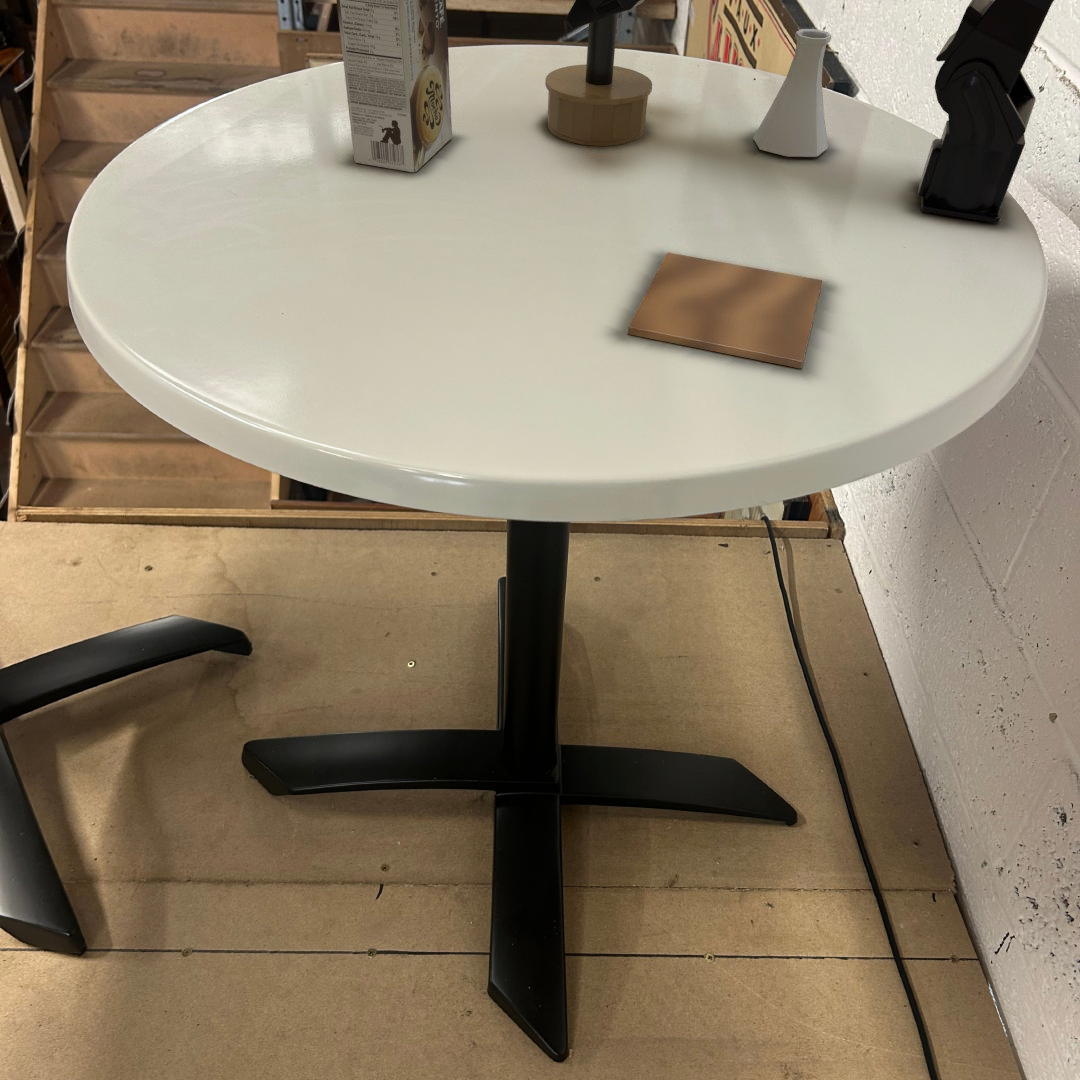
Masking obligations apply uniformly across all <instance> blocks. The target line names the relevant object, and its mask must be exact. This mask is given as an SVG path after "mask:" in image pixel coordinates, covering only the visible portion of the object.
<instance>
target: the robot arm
mask: <svg viewBox="0 0 1080 1080" xmlns="http://www.w3.org/2000/svg"><path fill="white" fill-rule="evenodd" d="M644 2H645V0H575V1H574V2H573V4H572V6H571V7H570V9H569V11H568V13H567V15H566V16H565V21H566V23H567V24H568V25H569V27H570V28H571V29H572V30H573V29H577V28H580V27H582V26H586V25H589V23H591V22H594V21H597V20H600V19H603V18H606V17H609V16H612V15H615V14H620V13H623V12H628V11H630V10H632V9H634V8H636V7H638V6H639V5H641V4H642V3H644ZM1054 2H1055V0H971V1H970V3H969V4H968V5H967V7H966V9H965V11H964V13H963V15H962V17H961V19H960V23H959V25H958V28H957V29H956V30H955V32H954V33H953V34H951V36H949V38H948V39H947V41H946V42H945V43H944V45H943V47H942V48H941V50H940V51H939V52H938V55H936V58H935V61H936V62H943V63H942V64H941V66H940V68H939V70H938V71H937V72H938V73H937V74H936V77H935V81H934V91H935V96H936V101H937V103H938V104H939V106H940V108H941V109H942V110H943V112H944V113H946V114H947V116H948V120H946V122H945V124H944V128H943V131H942V134H941V137H940V138H934V139H933V140H932V143H931V145H930V150H929V152H928V154H927V158H926V161H925V165H924V168H923V170H922V174H921V177H920V180H919V183H918V191H917V192H918V193H917V194H918V196H919V197H920V198H921V204H920V209H921V211H922V212H925V213H931V214H938V215H942V216H943V215H944V216H950V217H956V218H962V219H967V220H975V221H980V222H987V223H993V224H998V223H1000V222H1001V220H1002V205H1003V202H1004V200H1005V197H1006V194H1007V192H1008V189H1009V187H1010V184H1011V182H1012V179H1013V176H1014V174H1015V171H1016V169H1017V166H1018V164H1019V161H1020V159H1021V156H1022V153H1023V150H1024V148H1025V146H1026V137H1025V133H1026V131H1027V128H1028V125H1029V123H1030V122H1029V121H1030V118H1031V116H1032V112H1033V110H1034V107H1035V104H1036V100H1037V99H1036V96H1035V95H1034V92H1033V91H1032V89H1031V86H1030V85H1029V83H1028V81H1027V80H1026V78H1025V76H1024V74H1023V72H1022V69H1023V67H1024V65H1025V62H1026V60H1027V58H1028V56H1029V54H1030V52H1031V50H1032V48H1033V46H1034V44H1035V41H1036V39H1037V37H1038V34H1039V32H1040V31H1041V28H1042V26H1043V24H1044V22H1045V20H1046V17H1047V15H1048V13H1049V11H1050V9H1051V7H1052V4H1053V3H1054Z"/></svg>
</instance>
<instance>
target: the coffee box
mask: <svg viewBox="0 0 1080 1080" xmlns="http://www.w3.org/2000/svg"><path fill="white" fill-rule="evenodd" d="M336 9H337V17H338V25H339V35H340V42H341V52H342V62H343V71H344V79H345V88H346V96H347V106H348V116H349V124H350V134H351V142H352V150H353V151H352V153H353V160H354V163H357V164H362V165H367V166H373V167H379V168H385V169H391V170H396V171H401V172H408V173H416V172H418V171H419V170H420V169H421V168H422V167H423V166H424V165H425V164H426V163H428V162H429V160H430V159H431V158H432V157H434V155H436V153H438V152H439V151H440V149H442V148H443V147H444V146H445V145H446V144H447V143H448V142H449V141H450V140H451V139H452V138H453V125H452V105H451V83H450V60H449V58H450V57H449V56H450V55H449V38H448V36H449V33H448V16H447V15H448V14H447V13H448V11H447V10H448V9H447V0H336Z"/></svg>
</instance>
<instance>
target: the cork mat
mask: <svg viewBox="0 0 1080 1080" xmlns="http://www.w3.org/2000/svg"><path fill="white" fill-rule="evenodd" d="M822 284H823V280H822V279H818V278H813V277H807V276H802V275H801V276H800V275H795V274H790V273H785V272H780V271H774V270H768V269H762V268H757V267H752V266H751V267H750V266H745V265H741V264H734V263H730V262H723V261H718V260H712V259H706V258H702V257H695V256H690V255H684V254H678V253H672V252H666V254H665V255H664V257H663V260H662V261H661V263H660V265H659V267H658V269H657V270H656V273H655V275H654V277H653V279H652V280H651V283H650V284H649V286H648V288H647V290H646V292H645V294H644V296H643V298H642V299H641V301H640V304H639V306H638V307H637V310H636V311H635V313H634V315H633V317H632V319H631V321H630V323H629V325H628V326H627V335H631V336H635V337H640V338H645V339H651V340H655V341H660V342H665V343H670V344H675V345H676V344H677V345H680V346H685V347H690V348H695V349H700V350H705V351H710V352H716V353H720V354H726V355H731V356H735V357H741V358H746V359H751V360H755V361H761V362H765V363H771V364H776V365H779V366H780V365H781V366H785V367H789V368H790V367H791V368H794V369H802V368H803V364H804V360H805V356H806V352H807V348H808V343H809V339H810V337H811V336H810V335H811V331H812V326H813V323H814V318H815V314H816V311H817V310H816V309H817V306H818V302H819V297H820V293H821V290H822V289H821V288H822Z"/></svg>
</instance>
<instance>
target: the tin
mask: <svg viewBox="0 0 1080 1080" xmlns="http://www.w3.org/2000/svg"><path fill="white" fill-rule="evenodd" d="M547 95H548V96H547V128H548V131H549V132H550V133H551V134H552V135H553V136H555V137H557V138H558V139H560V140H563V141H565V142H569V143H573V144H577V145H583V146H591V147H611V146H619V145H625V144H629V143H631V142H634V141H636V140H638V139H639V138H640V137H642V136H643V133H644V129H645V127H646V120H647V119H646V118H647V109H648V108H647V107H648V100H649V96H647V97H646V98H644V99H642V100H639V101H636V102H632V103H626V104H618V105H594V104H585V103H578V102H574V101H569V100H566V99H563V98H560V97H558V96H556V95H554V94H552V93H551V92H549V91H548V93H547Z"/></svg>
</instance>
